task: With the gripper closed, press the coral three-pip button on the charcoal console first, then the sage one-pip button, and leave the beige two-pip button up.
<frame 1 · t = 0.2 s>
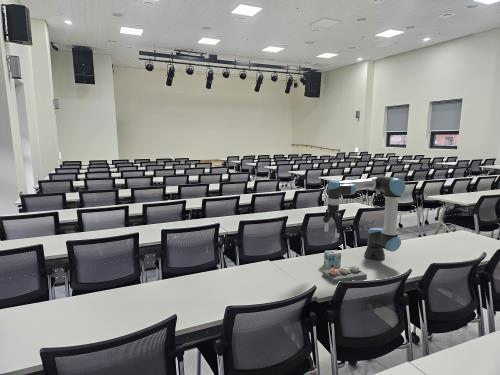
hand: (331, 234, 223), 27 cm above the table, fingers open, 13 cm apart
button one: (355, 268, 223), point 5 cm above the table, slide at 0.0 cm
console: (344, 276, 221), on the table
button three: (333, 272, 217), point 5 cm above the table, slide at 0.0 cm
button two: (344, 270, 220), point 5 cm above the table, slide at 0.0 cm
light bulb box: (332, 266, 239), on the table
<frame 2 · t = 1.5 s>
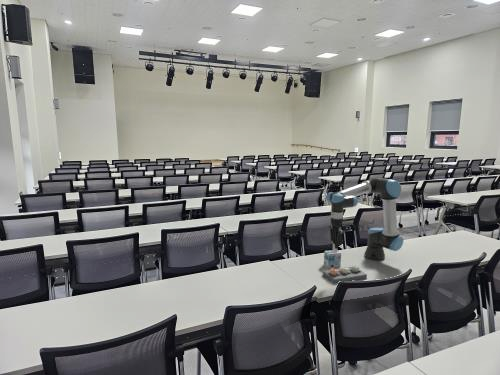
hand: (334, 252, 215), 18 cm above the table, fingers closed
nothing on the table moved.
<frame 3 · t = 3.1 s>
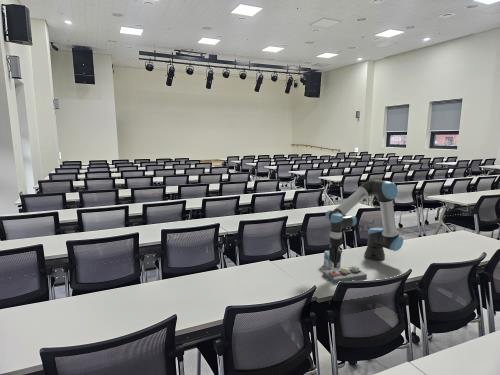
hand: (333, 271, 217), 5 cm above the table, fingers closed
button three: (333, 273, 217), point 3 cm above the table, slide at 1.3 cm, touching gripper
everything else where it was.
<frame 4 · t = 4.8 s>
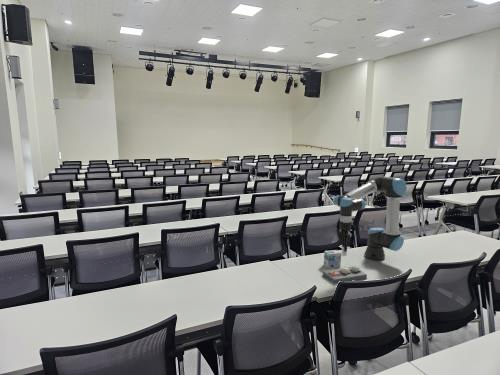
hand: (344, 255, 218), 15 cm above the table, fingers closed
button three: (333, 274, 218), point 3 cm above the table, slide at 1.9 cm
everything else where it was.
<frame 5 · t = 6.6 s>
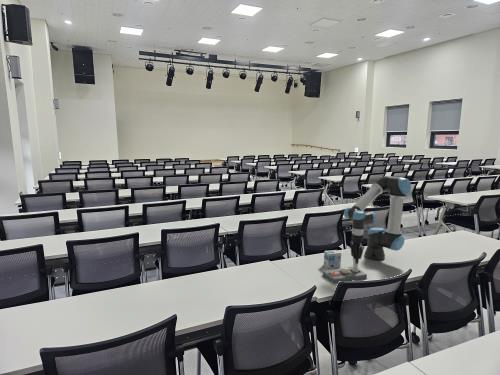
hand: (355, 267, 222), 6 cm above the table, fingers closed
button one: (355, 269, 223), point 4 cm above the table, slide at 0.7 cm, touching gripper
everything else where it was.
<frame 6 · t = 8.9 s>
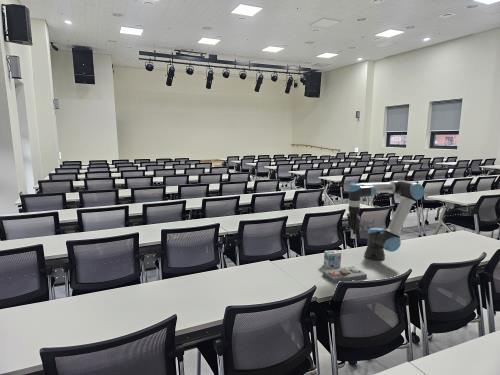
hand: (353, 238, 232), 22 cm above the table, fingers closed
button one: (355, 271, 223), point 3 cm above the table, slide at 1.9 cm
everything else where it was.
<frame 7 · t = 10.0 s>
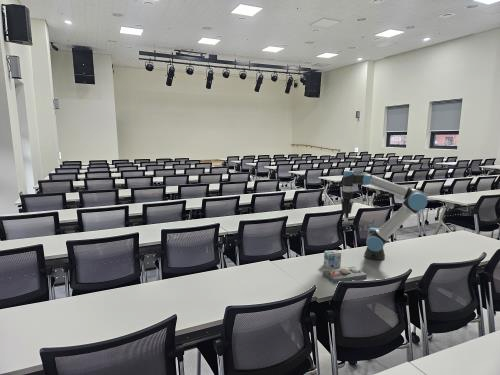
hand: (345, 221, 249), 29 cm above the table, fingers closed
nothing on the table moved.
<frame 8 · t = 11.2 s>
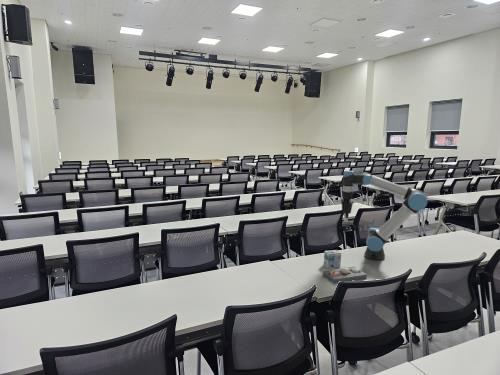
hand: (345, 221, 249), 29 cm above the table, fingers closed
nothing on the table moved.
at the end: button three slide at 1.9 cm; button one slide at 1.9 cm; button two slide at 0.0 cm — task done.
